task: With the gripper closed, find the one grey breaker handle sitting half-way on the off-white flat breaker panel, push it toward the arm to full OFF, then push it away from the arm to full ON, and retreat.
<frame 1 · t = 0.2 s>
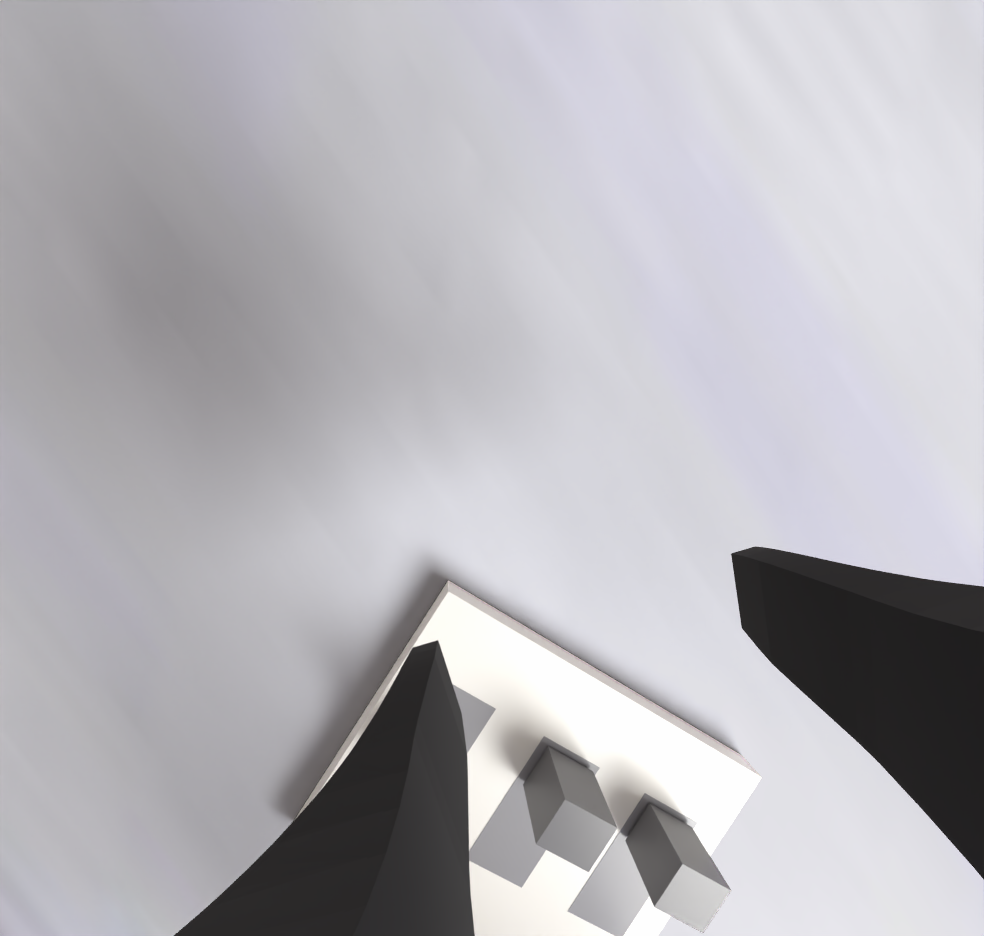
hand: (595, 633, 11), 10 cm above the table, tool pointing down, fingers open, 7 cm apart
breaker panel: (526, 787, 22), on the table
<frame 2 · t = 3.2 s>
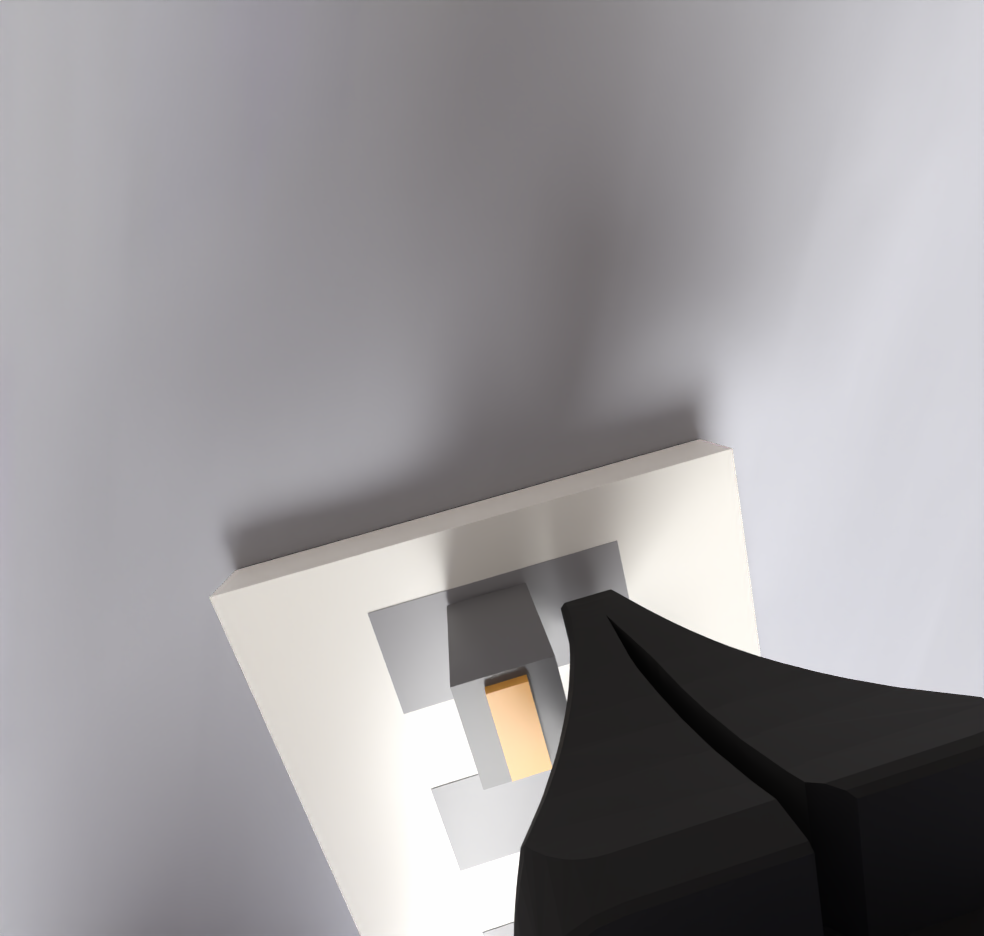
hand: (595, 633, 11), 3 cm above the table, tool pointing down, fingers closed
breaker panel: (544, 753, 15), on the table
tripped breaker: (507, 677, 10), point 3 cm above the table, slide at 1.7 cm, touching gripper
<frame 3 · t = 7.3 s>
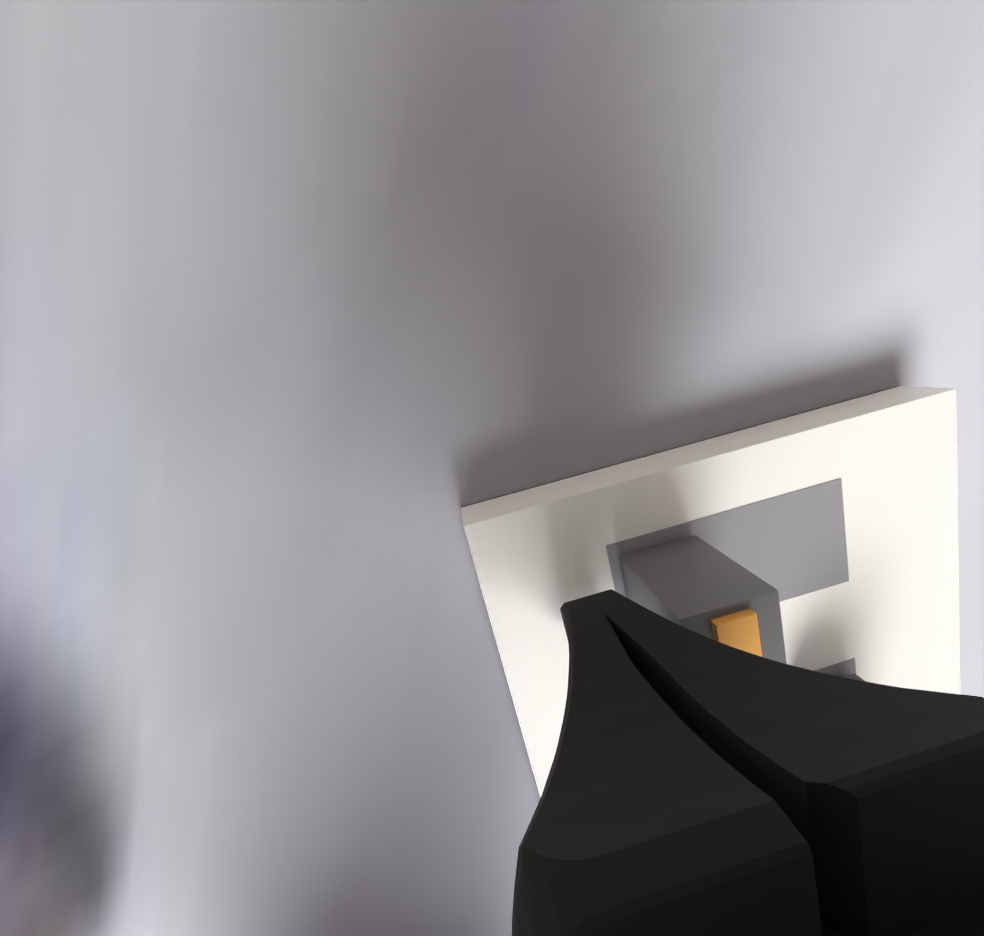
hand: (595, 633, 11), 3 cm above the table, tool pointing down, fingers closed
breaker panel: (725, 697, 15), on the table
tripped breaker: (698, 620, 11), point 3 cm above the table, slide at 0.0 cm, touching gripper
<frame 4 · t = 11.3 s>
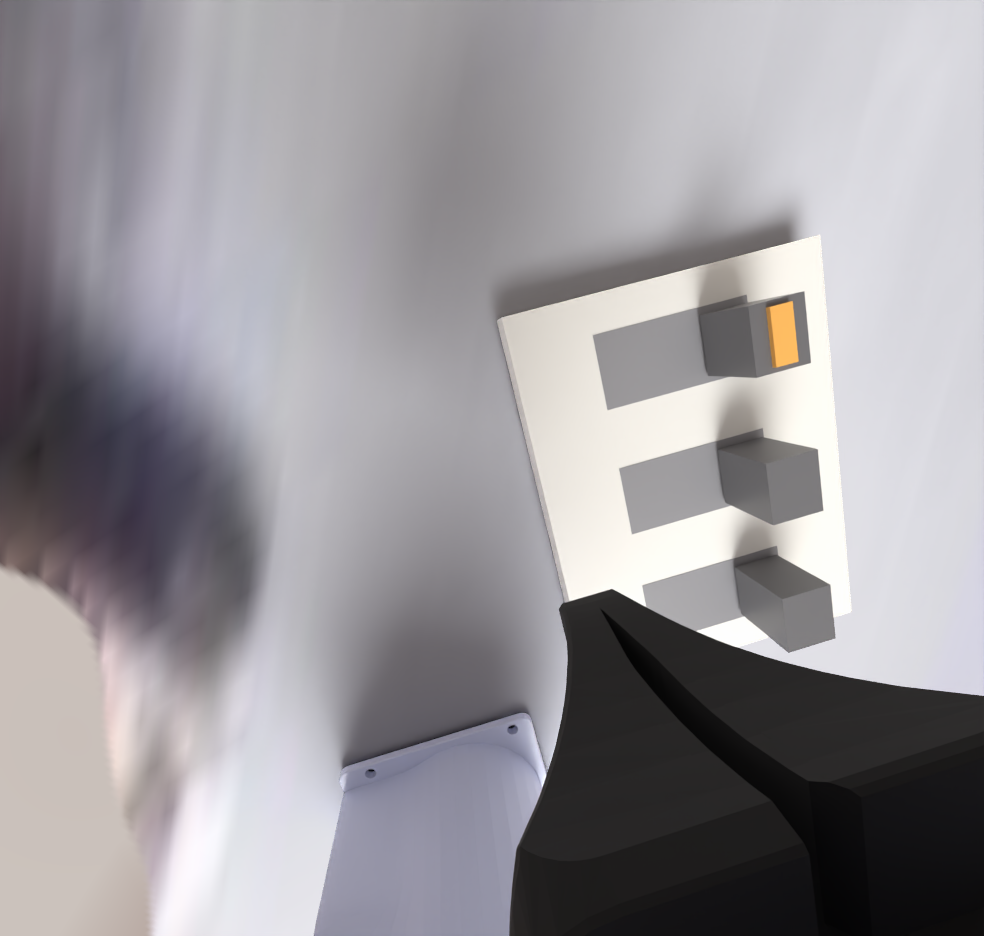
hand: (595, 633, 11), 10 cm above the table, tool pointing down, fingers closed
breaker panel: (679, 473, 22), on the table
tripped breaker: (753, 337, 17), point 3 cm above the table, slide at 4.1 cm
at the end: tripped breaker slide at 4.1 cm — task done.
